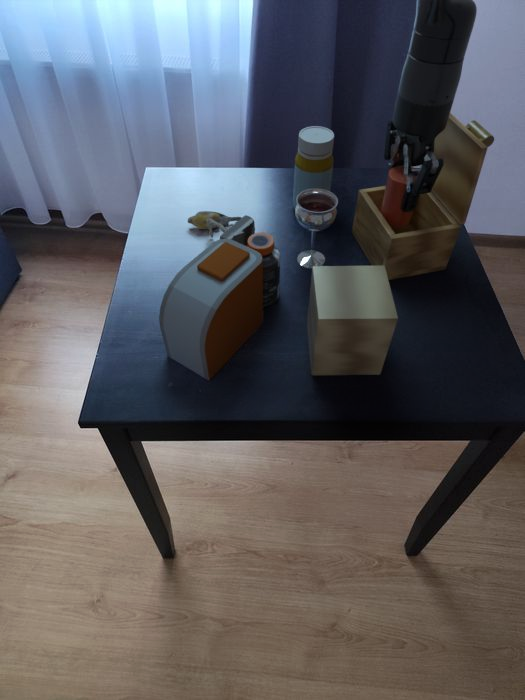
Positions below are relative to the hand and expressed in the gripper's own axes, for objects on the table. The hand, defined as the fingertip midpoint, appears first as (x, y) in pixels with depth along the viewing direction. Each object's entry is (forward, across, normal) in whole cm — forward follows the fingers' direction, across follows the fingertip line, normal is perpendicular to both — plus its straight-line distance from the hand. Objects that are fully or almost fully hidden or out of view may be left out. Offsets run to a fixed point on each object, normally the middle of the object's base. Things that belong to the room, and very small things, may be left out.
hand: (399, 199), depth 78 cm
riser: (+11, -19, +16) cm, 27 cm away
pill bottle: (+11, -5, +24) cm, 27 cm away
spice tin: (+3, 0, 0) cm, 3 cm away
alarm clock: (+11, -12, +33) cm, 37 cm away
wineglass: (+11, +2, +14) cm, 18 cm away
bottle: (+11, +16, +9) cm, 22 cm away
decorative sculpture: (+11, +10, +27) cm, 31 cm away
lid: (-5, 0, -7) cm, 9 cm away
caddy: (+11, 0, -2) cm, 11 cm away
